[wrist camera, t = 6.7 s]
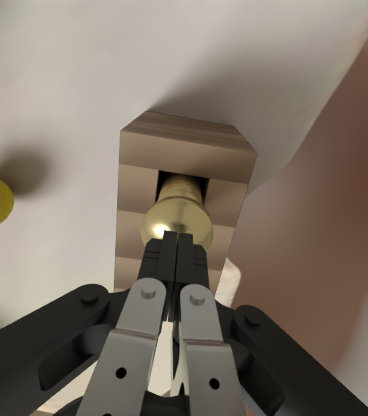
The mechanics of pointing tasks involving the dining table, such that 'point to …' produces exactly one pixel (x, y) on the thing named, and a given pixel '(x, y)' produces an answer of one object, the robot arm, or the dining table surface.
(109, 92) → the dining table surface
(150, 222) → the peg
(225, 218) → the brown wooden block
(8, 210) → the lemon
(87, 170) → the dining table surface
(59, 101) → the dining table surface
